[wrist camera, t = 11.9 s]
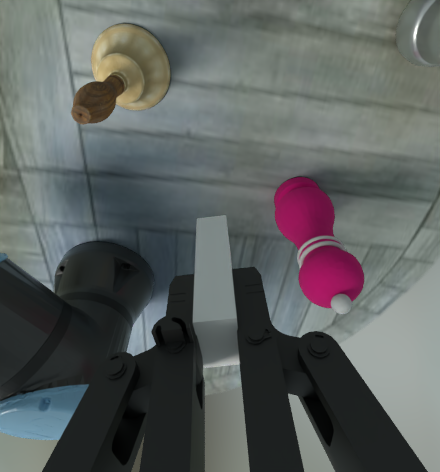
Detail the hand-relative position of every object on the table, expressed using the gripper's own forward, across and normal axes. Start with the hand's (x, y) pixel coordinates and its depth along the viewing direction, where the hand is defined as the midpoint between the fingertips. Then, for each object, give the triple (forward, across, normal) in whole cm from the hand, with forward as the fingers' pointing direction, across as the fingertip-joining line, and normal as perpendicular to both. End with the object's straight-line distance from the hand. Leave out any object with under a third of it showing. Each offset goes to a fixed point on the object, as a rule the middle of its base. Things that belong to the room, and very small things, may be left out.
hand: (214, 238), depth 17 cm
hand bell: (+25, -8, +6) cm, 27 cm away
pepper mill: (+25, +10, -12) cm, 30 cm away
